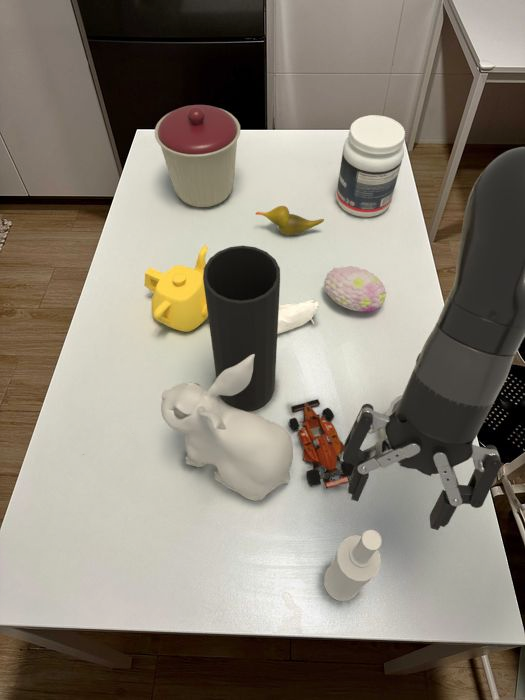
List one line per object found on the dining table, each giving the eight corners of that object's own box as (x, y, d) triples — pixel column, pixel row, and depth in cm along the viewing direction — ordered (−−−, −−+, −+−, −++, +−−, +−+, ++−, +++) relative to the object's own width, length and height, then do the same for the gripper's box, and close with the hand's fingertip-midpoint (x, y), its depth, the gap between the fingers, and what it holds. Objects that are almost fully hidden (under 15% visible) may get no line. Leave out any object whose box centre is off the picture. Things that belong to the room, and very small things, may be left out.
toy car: (325, 398, 91) (327, 386, 88) (359, 486, 83) (363, 476, 79) (283, 409, 90) (284, 397, 87) (313, 498, 81) (315, 489, 78)
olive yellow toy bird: (256, 223, 117) (256, 200, 111) (322, 227, 116) (325, 204, 111) (254, 236, 114) (254, 213, 109) (322, 240, 114) (325, 217, 108)
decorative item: (325, 259, 104) (357, 250, 95) (364, 283, 109) (398, 277, 100) (311, 300, 102) (342, 294, 93) (352, 322, 107) (385, 319, 98)
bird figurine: (299, 309, 104) (256, 319, 100) (312, 290, 99) (267, 300, 94) (310, 329, 103) (267, 341, 98) (324, 311, 97) (279, 322, 92)
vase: (231, 355, 96) (221, 237, 72) (282, 371, 95) (290, 256, 70) (209, 401, 91) (190, 290, 66) (263, 419, 89) (264, 312, 64)
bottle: (319, 567, 76) (341, 519, 55) (353, 560, 76) (387, 510, 56) (327, 605, 73) (354, 570, 52) (363, 598, 73) (403, 560, 53)
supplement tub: (334, 182, 125) (344, 111, 109) (387, 184, 124) (405, 113, 109) (336, 219, 117) (347, 148, 102) (392, 221, 117) (412, 150, 102)
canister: (166, 170, 127) (151, 86, 109) (239, 166, 128) (236, 82, 110) (166, 221, 117) (149, 137, 99) (245, 215, 118) (243, 132, 100)
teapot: (226, 329, 100) (224, 296, 92) (158, 344, 98) (149, 312, 90) (210, 277, 107) (206, 243, 99) (146, 291, 105) (137, 257, 97)
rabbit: (191, 409, 90) (171, 324, 69) (301, 453, 86) (315, 375, 65) (159, 467, 84) (126, 392, 63) (275, 517, 80) (281, 454, 59)
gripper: (379, 372, 45) (324, 510, 52) (543, 426, 43) (464, 560, 50) (380, 341, 51) (332, 466, 58) (523, 386, 50) (456, 509, 57)
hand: (393, 509), depth 54 cm, fingers open, 8 cm apart
